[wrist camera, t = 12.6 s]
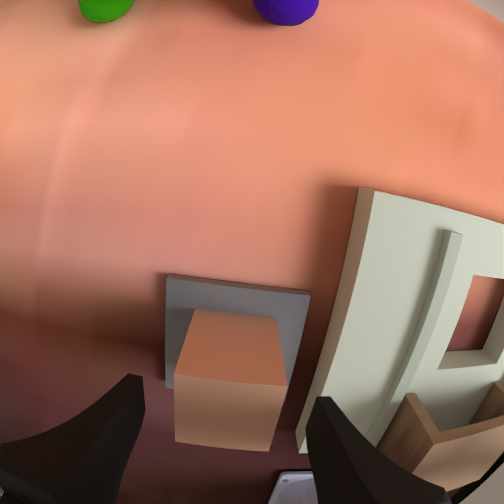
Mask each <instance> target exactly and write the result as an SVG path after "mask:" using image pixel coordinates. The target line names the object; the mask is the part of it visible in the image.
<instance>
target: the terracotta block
mask: <svg viewBox="0 0 504 504" xmlns="http://www.w3.org/2000/svg"><path fill="white" fill-rule="evenodd" d="M287 387H288V385H287V379H286V373H285V367H284V361H283V355H282V349H281V343H280V337H279V331H278V325H277V319H276V318H270V317H261V316H252V315H243V314H235V313H227V312H220V311H212V310H205V309H198V308H195V311H194V314H193V317H192V320H191V323H190V326H189V329H188V332H187V335H186V338H185V341H184V344H183V347H182V350H181V353H180V356H179V360H178V363H177V366H176V369H175V372H174V417H175V441H177V442H183V443H189V444H196V445H203V446H211V447H219V448H229V449H240V450H253V451H269V448H270V445H271V442H272V439H273V436H274V432H275V429H276V426H277V422H278V419H279V415H280V412H281V409H282V405H283V402H284V398H285V394H286V391H287Z"/></svg>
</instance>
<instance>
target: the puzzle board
mask: <svg viewBox="0 0 504 504" xmlns="http://www.w3.org/2000/svg"><path fill="white" fill-rule="evenodd" d="M473 275H479V276H486V277H493V278H500V279H504V224H503V223H500V222H497V221H493V220H490V219H487V218H484V217H480V216H477V215H473V214H470V213H466V212H463V211H459V210H456V209H452V208H448V207H445V206H441V205H437V204H433V203H429V202H425V201H421V200H417V199H413V198H409V197H404V196H400V195H396V194H391V193H387V192H382V191H378V190H373V189H368V188H363V187H359V189H358V195H357V201H356V206H355V212H354V217H353V222H352V227H351V232H350V237H349V242H348V247H347V252H346V256H345V261H344V265H343V270H342V274H341V278H340V283H339V287H338V291H337V295H336V299H335V303H334V307H333V311H332V315H331V318H330V322H329V326H328V329H327V333H326V337H325V340H324V344H323V347H322V351H321V354H320V358H319V361H318V364H317V368H316V371H315V374H314V377H313V381H312V384H311V387H310V390H309V393H308V396H307V399H306V402H305V405H304V408H303V411H302V414H301V417H300V420H299V423H298V425H297V428H296V431H295V432H296V439H297V445H298V451H299V453H308V451H307V444H306V431H305V427H306V425H307V422H308V419H309V416H310V414H311V411H312V408H313V405H314V403H315V400H316V397H317V396H331V398H332V399H333V400H334V401H335V403H336V404H337V405H338V407H339V408H340V409H341V410H342V412H343V413H344V414H345V415H346V417H347V418H348V419H349V420H350V421H351V423H352V424H353V425H354V426H355V427H356V428H357V429H358V431H359V432H360V433H361V434H362V435H363V436H364V437H365V438H366V439H367V440H368V441H369V442H370V443H371V444H372V445H373V446H374V447H376V446H377V444H378V443H379V441H380V439H381V438H382V436H383V434H384V433H385V431H386V429H387V427H388V426H389V424H390V422H391V420H392V418H393V417H394V415H395V413H396V411H397V409H398V407H399V405H400V404H401V402H402V400H403V398H404V396H405V394H412V393H416V395H417V396H418V398H419V400H420V401H421V403H422V404H423V406H424V408H425V409H426V411H427V412H428V414H429V416H430V417H431V419H432V421H433V422H434V424H435V426H436V427H437V429H438V431H439V432H442V431H446V430H451V429H455V428H460V427H464V426H468V425H469V423H470V422H471V420H472V419H473V417H474V416H475V414H476V413H477V411H478V409H479V408H480V406H481V405H482V403H483V401H484V400H485V398H486V396H487V395H488V393H489V391H490V389H491V388H492V386H493V384H494V382H498V381H501V382H502V383H503V384H504V297H503V299H502V302H501V305H500V308H499V310H498V313H497V316H496V318H495V321H494V323H493V326H492V328H491V331H490V333H489V335H488V338H487V340H486V342H485V345H484V347H483V349H482V350H467V351H447V352H445V351H446V349H447V346H448V344H449V341H450V339H451V337H452V334H453V332H454V329H455V327H456V324H457V322H458V319H459V316H460V314H461V311H462V308H463V305H464V302H465V300H466V297H467V294H468V291H469V288H470V284H471V281H472V278H473Z"/></svg>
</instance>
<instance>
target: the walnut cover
mask: <svg viewBox="0 0 504 504" xmlns="http://www.w3.org/2000/svg"><path fill="white" fill-rule="evenodd" d="M375 448H377V449H378V450H379V451H380V452H381V453H383V454H384V455H385V456H386V457H387V458H389V459H390V460H391V461H393V462H394V463H396V464H397V465H399V466H400V467H402V468H403V469H405V470H407V471H408V472H410V473H412V474H414V475H416V476H418V477H420V478H422V479H424V480H426V481H428V482H431V483H433V484H436V485H438V486H441V487H444V489H445V490H446V492H447V491H450V490H452V489H455V488H458V487H461V486H463V485H466V484H469V483H471V482H474V481H476V480H479V479H480V478H481V477H482V476H483V475H484V474H485V472H486V471H487V470H488V469H489V468H490V467H491V466H492V465H493V463H494V462H495V461H496V460H497V459H498V457H499V456H500V455H501V454H502V453H503V451H504V384H503V383H502V382H501V381H498V382H494V384H493V386H492V388H491V389H490V391H489V393H488V395H487V396H486V398H485V400H484V401H483V403H482V405H481V406H480V408H479V409H478V411H477V413H476V414H475V416H474V417H473V419H472V420H471V422H470V423H469V425H468V426H464V427H460V428H455V429H451V430H446V431H442V432H439V431H438V429H437V427H436V426H435V424H434V422H433V421H432V419H431V417H430V416H429V414H428V412H427V411H426V409H425V408H424V406H423V404H422V403H421V401H420V400H419V398H418V396H417V395H416V393H412V394H405V396H404V398H403V400H402V402H401V404H400V405H399V407H398V409H397V411H396V413H395V415H394V417H393V418H392V420H391V422H390V424H389V426H388V427H387V429H386V431H385V433H384V434H383V436H382V438H381V439H380V441H379V443H378V444H377V446H376V447H375Z"/></svg>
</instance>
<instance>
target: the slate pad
mask: <svg viewBox="0 0 504 504" xmlns="http://www.w3.org/2000/svg"><path fill="white" fill-rule="evenodd" d="M310 298H311V294H310V292H309V291H305V290H296V289H287V288H278V287H270V286H261V285H253V284H244V283H236V282H228V281H220V280H213V279H205V278H197V277H190V276H183V275H176V274H169V275H168V276H167V278H166V306H165V378H166V388H170V389H174V372H175V369H176V366H177V363H178V360H179V356H180V353H181V350H182V347H183V344H184V341H185V338H186V335H187V332H188V329H189V326H190V323H191V320H192V317H193V314H194V311H195V308H198V309H205V310H212V311H220V312H227V313H235V314H243V315H252V316H261V317H270V318H276V319H277V325H278V331H279V337H280V343H281V349H282V355H283V361H284V367H285V373H286V379H287V385H288V387H289V384H290V380H291V376H292V373H293V369H294V365H295V361H296V357H297V353H298V349H299V345H300V341H301V337H302V333H303V329H304V324H305V320H306V316H307V312H308V307H309V303H310ZM288 387H287V391H288ZM287 391H286V394H285V398H286V395H287ZM285 398H284V401H285Z"/></svg>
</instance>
